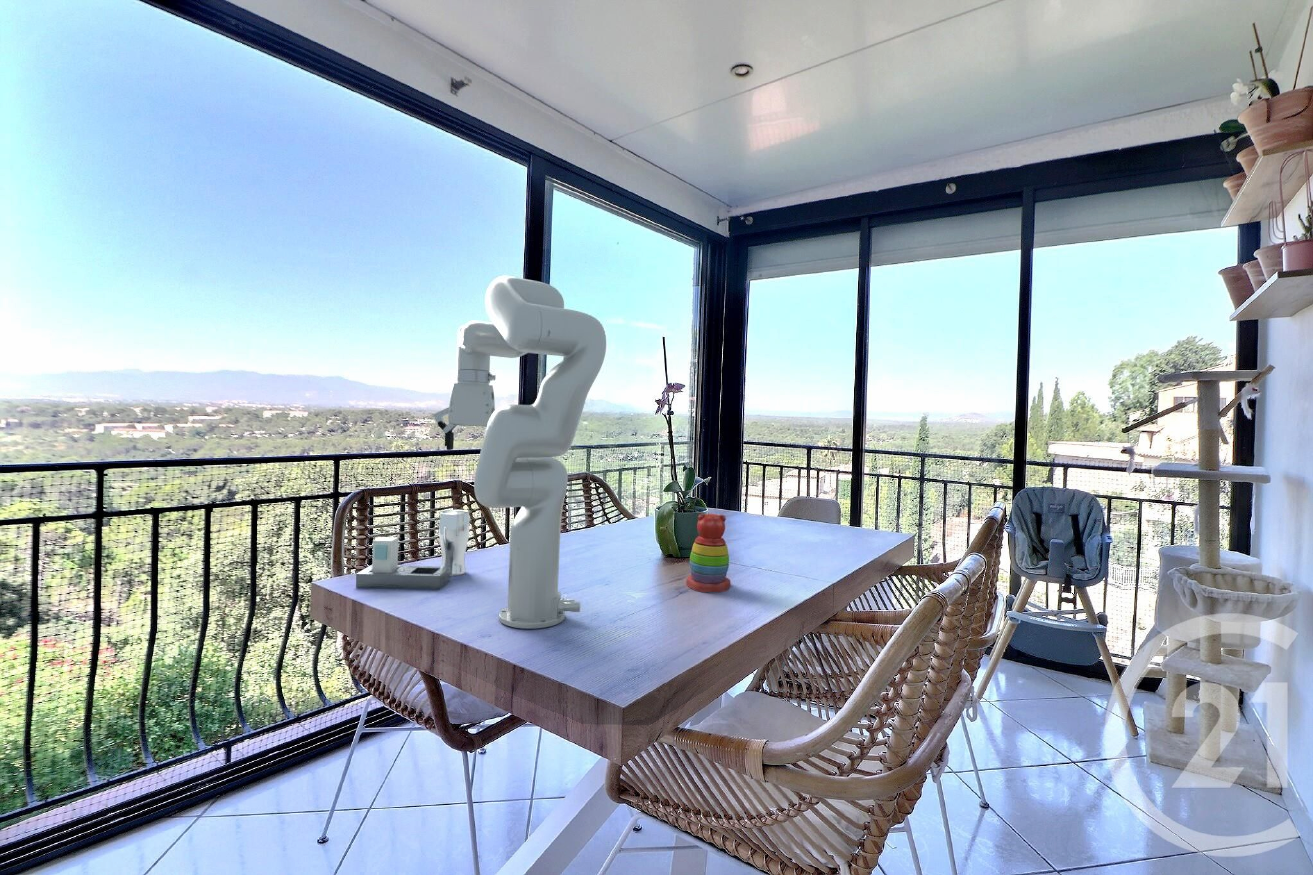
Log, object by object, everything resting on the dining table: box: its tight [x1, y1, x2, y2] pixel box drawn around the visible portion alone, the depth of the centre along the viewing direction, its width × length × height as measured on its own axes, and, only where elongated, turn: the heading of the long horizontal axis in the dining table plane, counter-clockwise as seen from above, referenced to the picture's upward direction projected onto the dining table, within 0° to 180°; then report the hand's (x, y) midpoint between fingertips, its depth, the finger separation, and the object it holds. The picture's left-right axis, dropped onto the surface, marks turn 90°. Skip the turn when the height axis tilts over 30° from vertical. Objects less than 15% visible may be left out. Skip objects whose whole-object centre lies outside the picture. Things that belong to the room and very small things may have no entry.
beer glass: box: [438, 509, 470, 577], centre depth 146 cm, size 7×7×15 cm
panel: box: [355, 564, 451, 591], centre depth 135 cm, size 18×8×3 cm, turn 93°
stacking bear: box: [685, 513, 732, 593], centre depth 143 cm, size 11×10×18 cm
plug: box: [371, 536, 399, 573], centre depth 135 cm, size 4×5×10 cm
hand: (470, 450), depth 142 cm, fingers open, 9 cm apart
